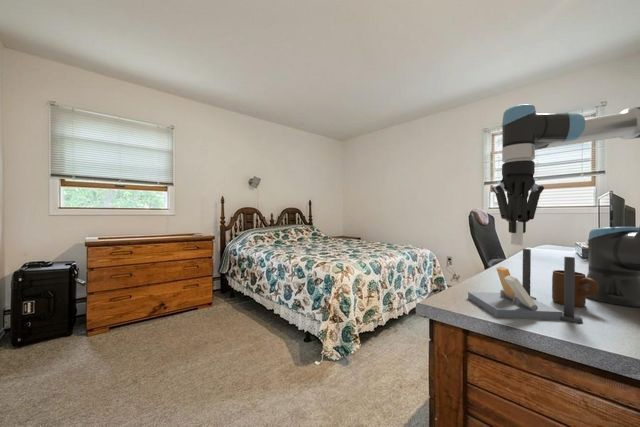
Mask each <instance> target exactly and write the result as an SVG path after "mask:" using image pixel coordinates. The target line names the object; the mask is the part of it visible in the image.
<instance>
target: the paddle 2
mask: <svg viewBox="0 0 640 427" xmlns="http://www.w3.org/2000/svg"><path fill="white" fill-rule="evenodd" d="M504 279H505V280H506V282H507V283H508V285H509V286H510V287H511V289H512V290H513V292H514V293H515V294H516V296H517V297H518V299H519V300H520V301H521V303H522V305H523V306H525V307H527V308H529V309H531V310H533V311H536V310H537V309H538V307H537V305H535V303H534V302H533V300H532V299H531V297H530V296H531V295H530V296H529V295H528V293H527V292H526V290H525V289H524V288H523V286H522V282H520V281H519V279H518V278H517V277H514V276H511V275H510V276H509V275H508V276H506V277H505V278H504Z"/></svg>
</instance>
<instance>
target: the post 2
mask: <svg viewBox="0 0 640 427" xmlns="http://www.w3.org/2000/svg"><path fill="white" fill-rule="evenodd" d="M563 260H564V261H563V262H564V264H563V267H564V269H563V271H564V305H563V312H562V317H561V318H560V320H559V321H563V322H567V323H572V324H582V323H583V318H582V317H581V316H578V315H576V314H575V307H574V298H575V272H576V271H575V270H576V269H575V268H576V263H575V262H576V258H575V257H574V256H573V257H572V256H564V258H563Z"/></svg>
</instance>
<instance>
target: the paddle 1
mask: <svg viewBox="0 0 640 427" xmlns="http://www.w3.org/2000/svg"><path fill="white" fill-rule="evenodd" d="M496 271H497V275H498V277H499V281H500V283H501V286H502V290H504V293H505V296H506V297H507V298H509V299H511V300H513V295H516V294H515V293H514V292H513V290H512V289H511V287H510V286H509V285H508V283H507V282H506V280H505V279H504V278H505V277H506V276H508V275H509V276H511V273H510V271H509V268H506V267H503V266H499V267H496Z"/></svg>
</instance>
